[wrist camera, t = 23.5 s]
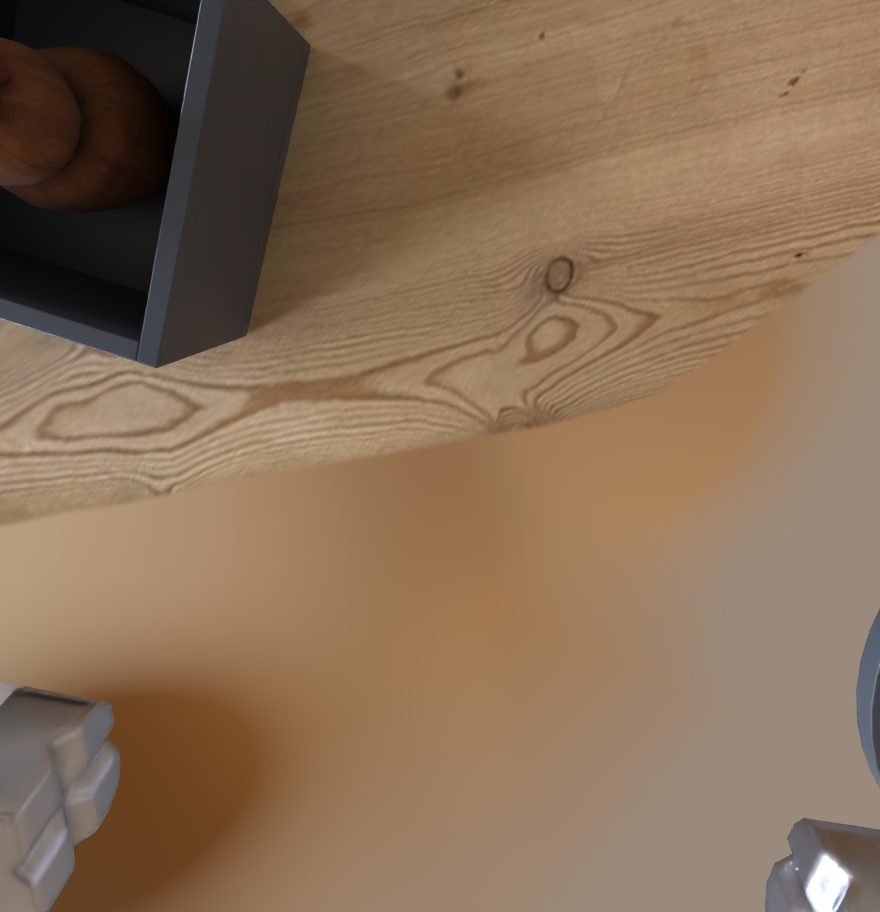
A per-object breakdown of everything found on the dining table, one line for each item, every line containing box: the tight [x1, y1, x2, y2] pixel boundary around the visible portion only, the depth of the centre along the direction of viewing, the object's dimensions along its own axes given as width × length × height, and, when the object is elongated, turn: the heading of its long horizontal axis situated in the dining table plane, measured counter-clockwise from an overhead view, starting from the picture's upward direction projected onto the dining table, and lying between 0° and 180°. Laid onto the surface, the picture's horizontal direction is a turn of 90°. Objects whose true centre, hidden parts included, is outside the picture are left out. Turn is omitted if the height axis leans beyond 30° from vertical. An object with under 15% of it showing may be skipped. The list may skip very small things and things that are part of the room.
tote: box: [0, 0, 310, 368], centre depth 30 cm, size 14×14×10 cm
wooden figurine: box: [0, 37, 177, 213], centre depth 26 cm, size 7×6×15 cm
